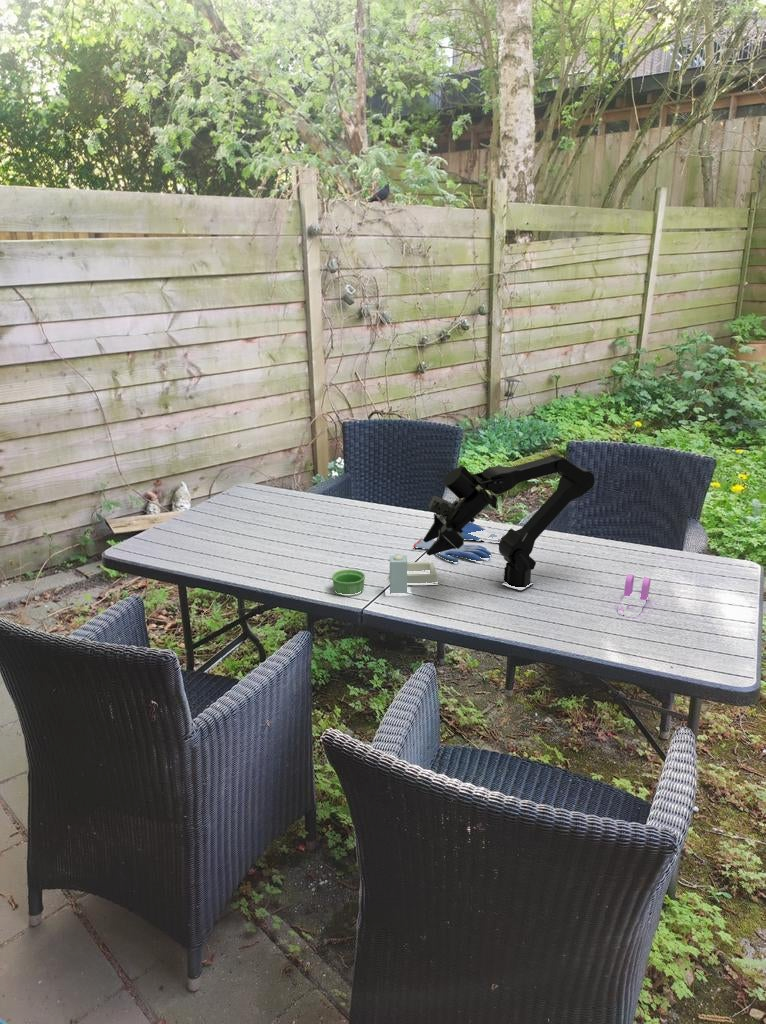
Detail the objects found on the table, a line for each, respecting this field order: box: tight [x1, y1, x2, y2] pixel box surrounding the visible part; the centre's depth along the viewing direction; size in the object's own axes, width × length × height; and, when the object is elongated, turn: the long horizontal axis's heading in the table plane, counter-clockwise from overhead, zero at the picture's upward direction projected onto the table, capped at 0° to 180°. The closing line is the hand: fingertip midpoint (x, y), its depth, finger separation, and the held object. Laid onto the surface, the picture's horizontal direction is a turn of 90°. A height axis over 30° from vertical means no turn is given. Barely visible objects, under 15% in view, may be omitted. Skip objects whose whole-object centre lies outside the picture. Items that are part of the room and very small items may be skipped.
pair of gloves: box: [413, 522, 506, 562], centre depth 225 cm, size 32×26×4 cm
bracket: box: [619, 573, 652, 612], centre depth 183 cm, size 13×6×7 cm, turn 150°
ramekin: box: [331, 569, 366, 594], centre depth 193 cm, size 9×9×4 cm
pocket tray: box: [407, 561, 438, 583], centre depth 200 cm, size 13×10×4 cm
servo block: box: [389, 554, 408, 594], centre depth 190 cm, size 8×4×11 cm, turn 92°
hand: (425, 547), depth 188 cm, fingers open, 9 cm apart
